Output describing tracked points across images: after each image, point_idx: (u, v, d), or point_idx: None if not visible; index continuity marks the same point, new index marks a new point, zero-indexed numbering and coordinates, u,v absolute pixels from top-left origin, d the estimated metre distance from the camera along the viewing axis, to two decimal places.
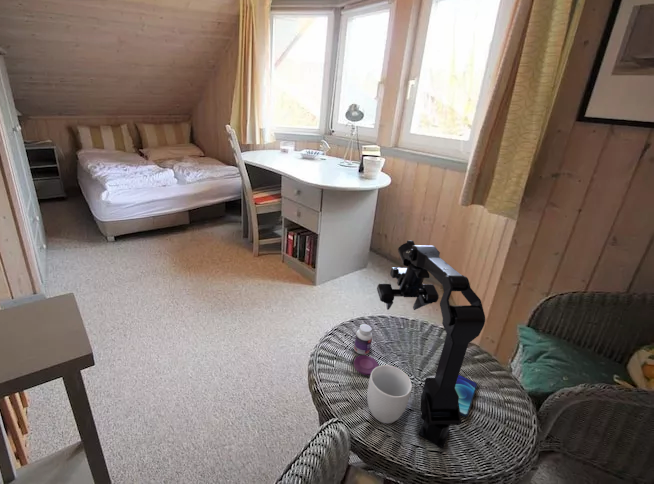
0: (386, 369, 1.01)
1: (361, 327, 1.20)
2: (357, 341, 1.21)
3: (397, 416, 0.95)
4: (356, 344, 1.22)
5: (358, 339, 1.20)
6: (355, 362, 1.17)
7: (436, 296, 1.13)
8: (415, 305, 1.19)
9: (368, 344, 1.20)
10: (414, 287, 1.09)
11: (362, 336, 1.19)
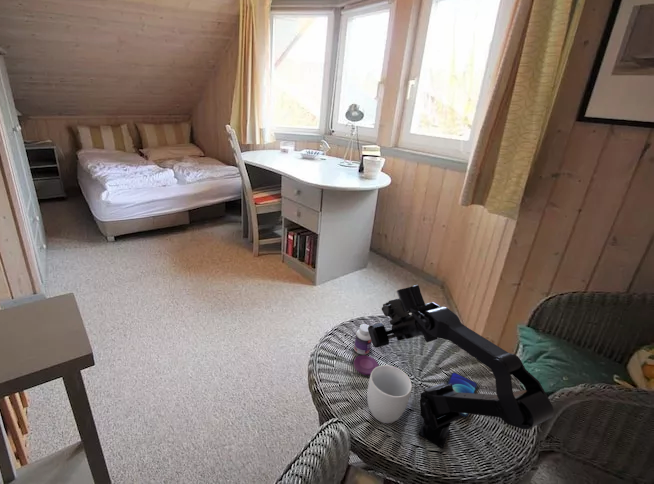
0: (386, 369, 1.01)
1: (361, 327, 1.20)
2: (357, 341, 1.21)
3: (397, 416, 0.95)
4: (356, 344, 1.22)
5: (358, 339, 1.20)
6: (355, 362, 1.17)
7: None
8: None
9: (368, 344, 1.20)
10: None
11: (362, 336, 1.19)
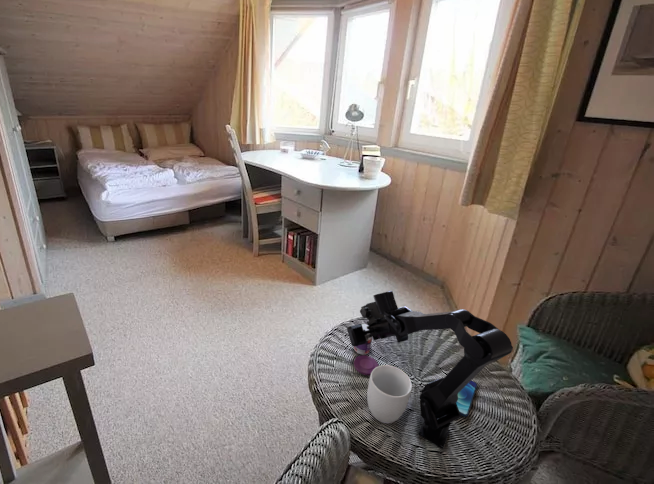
0: (386, 369, 1.01)
1: None
2: None
3: (397, 416, 0.95)
4: None
5: None
6: (355, 362, 1.17)
7: None
8: None
9: (368, 344, 1.20)
10: None
11: None
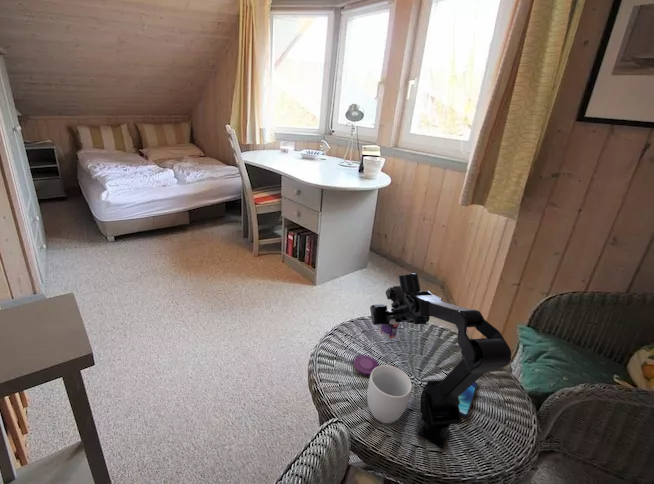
0: (386, 369, 1.01)
1: (388, 310, 1.21)
2: (383, 324, 1.22)
3: (397, 416, 0.95)
4: (382, 327, 1.23)
5: None
6: (355, 362, 1.17)
7: (427, 319, 1.14)
8: None
9: (393, 328, 1.20)
10: (408, 320, 1.09)
11: None
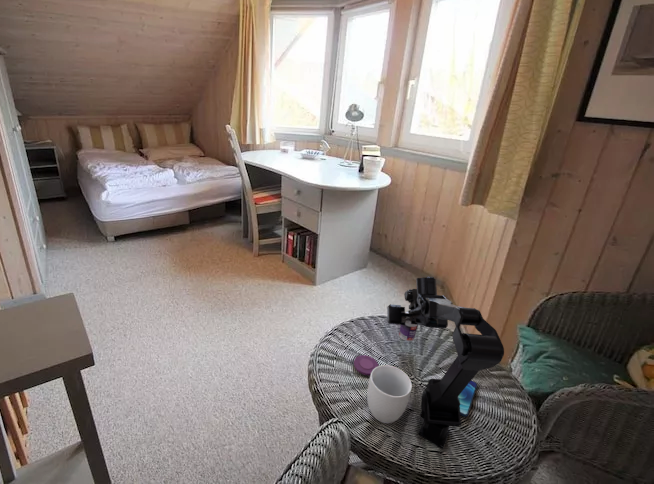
0: (386, 369, 1.01)
1: None
2: (401, 325, 1.24)
3: (397, 416, 0.95)
4: (400, 328, 1.25)
5: None
6: (355, 362, 1.17)
7: (444, 326, 1.14)
8: None
9: (411, 331, 1.21)
10: (422, 323, 1.10)
11: None
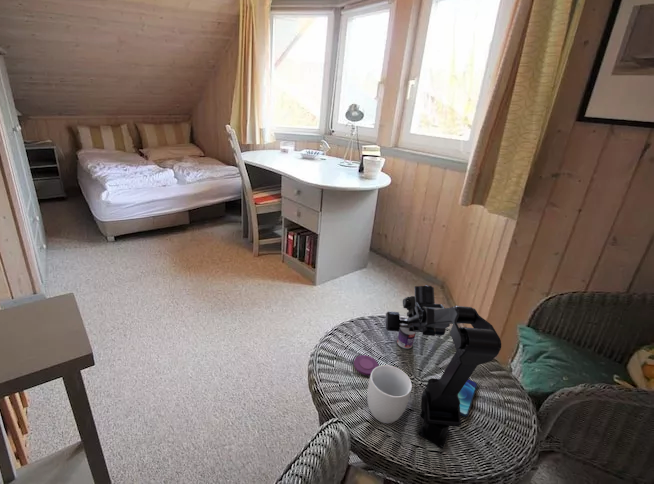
0: (386, 369, 1.01)
1: (405, 320, 1.24)
2: (399, 333, 1.25)
3: (397, 416, 0.95)
4: (398, 336, 1.26)
5: (400, 331, 1.25)
6: (355, 362, 1.17)
7: (442, 333, 1.15)
8: None
9: (409, 339, 1.23)
10: (420, 330, 1.11)
11: (403, 329, 1.23)
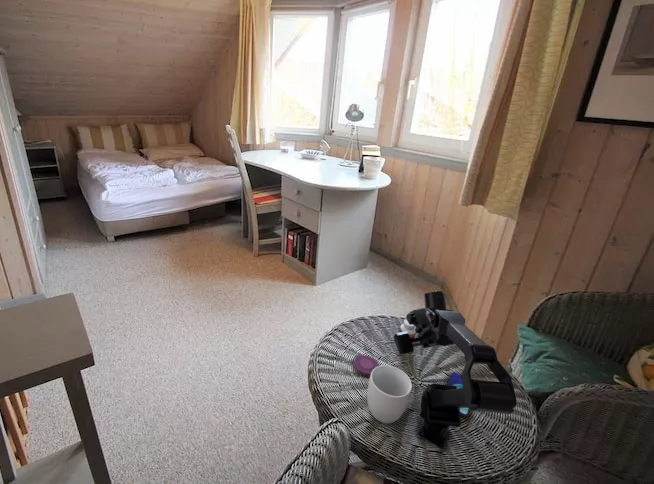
0: (386, 369, 1.01)
1: (405, 320, 1.24)
2: None
3: (397, 416, 0.95)
4: None
5: (400, 331, 1.25)
6: (355, 362, 1.17)
7: None
8: None
9: None
10: (436, 343, 1.01)
11: (403, 329, 1.23)
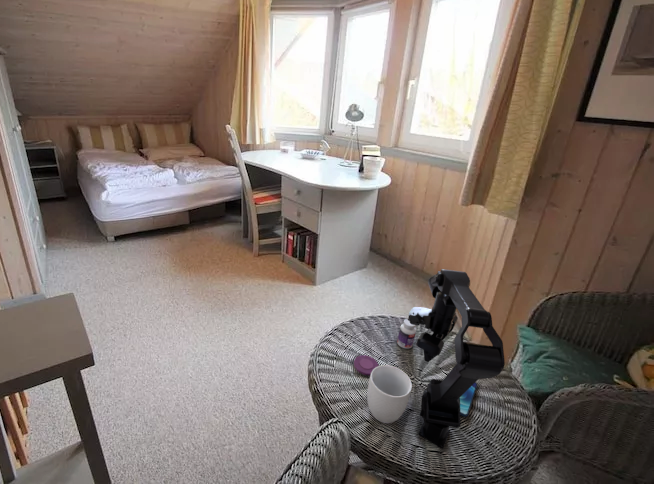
0: (386, 369, 1.01)
1: (405, 320, 1.24)
2: (399, 333, 1.25)
3: (397, 416, 0.95)
4: (398, 336, 1.26)
5: (400, 331, 1.25)
6: (355, 362, 1.17)
7: (456, 316, 1.06)
8: None
9: (409, 339, 1.23)
10: (453, 318, 0.98)
11: (403, 329, 1.23)
